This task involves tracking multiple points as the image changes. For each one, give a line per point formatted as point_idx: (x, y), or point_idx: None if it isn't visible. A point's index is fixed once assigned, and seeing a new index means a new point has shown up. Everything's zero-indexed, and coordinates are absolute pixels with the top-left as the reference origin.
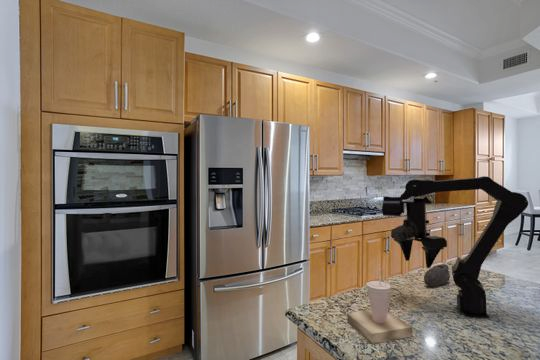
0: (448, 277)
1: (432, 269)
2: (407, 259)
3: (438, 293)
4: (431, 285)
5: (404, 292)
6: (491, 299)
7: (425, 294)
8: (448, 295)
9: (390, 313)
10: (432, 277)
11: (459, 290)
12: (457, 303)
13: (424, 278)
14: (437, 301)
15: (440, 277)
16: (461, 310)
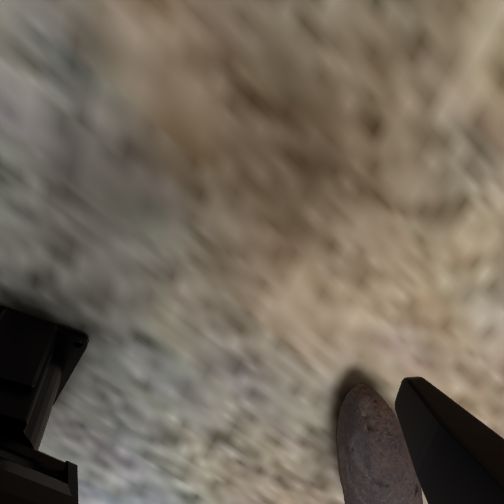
0: (345, 501)
1: (393, 495)
2: (407, 400)
3: (272, 373)
4: (344, 399)
5: (370, 227)
6: (135, 496)
7: (290, 312)
8: (233, 394)
9: None
10: (355, 443)
11: (4, 415)
12: (38, 339)
13: (379, 407)
14: (187, 303)
15: (343, 474)
16: (1, 313)
